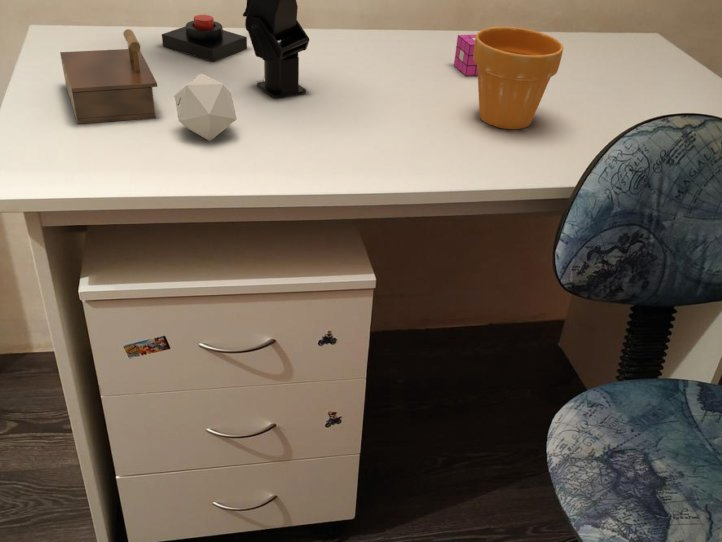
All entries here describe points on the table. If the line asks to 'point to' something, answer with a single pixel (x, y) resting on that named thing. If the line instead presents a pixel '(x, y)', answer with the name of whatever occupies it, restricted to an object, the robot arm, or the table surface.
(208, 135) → the die
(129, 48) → the lid
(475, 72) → the puzzle toy
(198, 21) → the release button
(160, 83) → the table surface
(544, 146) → the table surface
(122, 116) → the compartment
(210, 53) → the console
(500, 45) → the flower pot
